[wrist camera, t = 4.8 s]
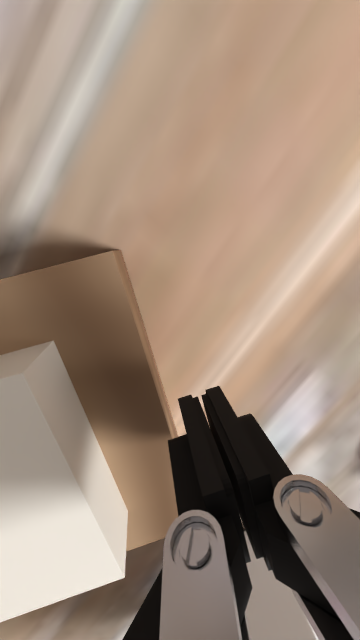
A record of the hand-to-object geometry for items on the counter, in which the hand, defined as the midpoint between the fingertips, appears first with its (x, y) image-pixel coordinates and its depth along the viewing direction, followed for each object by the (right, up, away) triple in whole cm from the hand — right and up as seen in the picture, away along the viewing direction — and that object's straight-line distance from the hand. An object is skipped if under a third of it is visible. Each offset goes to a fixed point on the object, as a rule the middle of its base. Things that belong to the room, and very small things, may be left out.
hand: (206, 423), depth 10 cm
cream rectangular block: (-7, -2, +1) cm, 8 cm away
